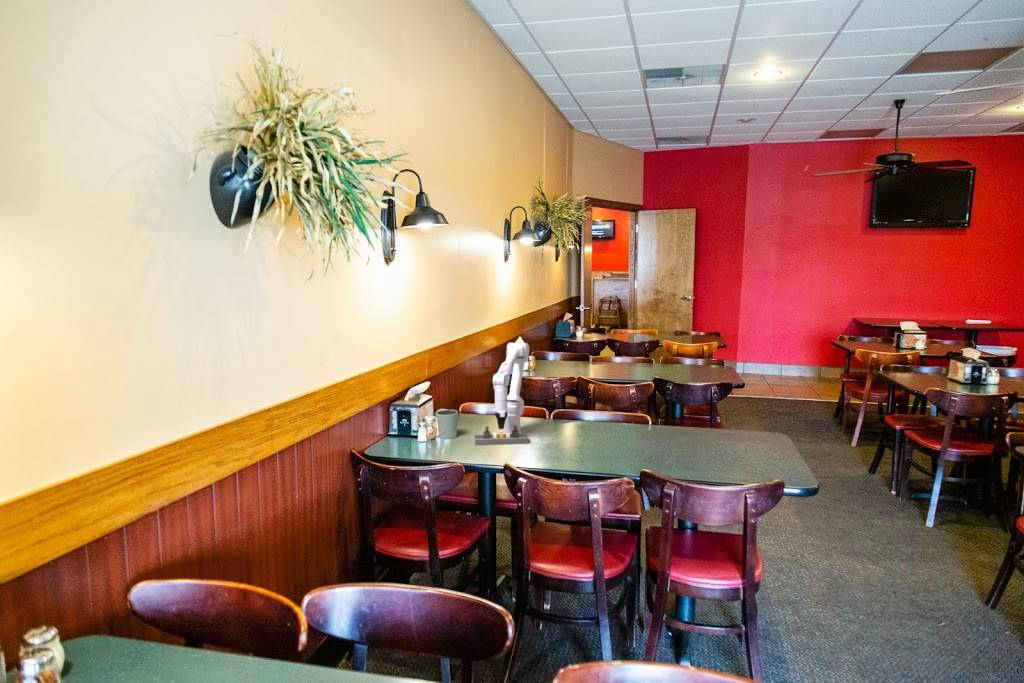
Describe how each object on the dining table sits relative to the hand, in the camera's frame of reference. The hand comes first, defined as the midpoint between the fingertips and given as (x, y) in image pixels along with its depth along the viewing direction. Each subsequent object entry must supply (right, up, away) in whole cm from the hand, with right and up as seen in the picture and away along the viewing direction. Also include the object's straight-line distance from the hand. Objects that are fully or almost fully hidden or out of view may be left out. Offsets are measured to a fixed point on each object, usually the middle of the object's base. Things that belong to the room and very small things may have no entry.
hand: (501, 428), depth 280 cm
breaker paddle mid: (0, -4, +1) cm, 4 cm away
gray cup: (-25, -5, +10) cm, 28 cm away
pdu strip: (0, -6, +1) cm, 6 cm away
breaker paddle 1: (-3, -4, 0) cm, 5 cm away
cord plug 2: (+6, -4, +1) cm, 8 cm away
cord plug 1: (-7, -4, 0) cm, 8 cm away
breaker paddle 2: (+3, -4, +1) cm, 5 cm away
